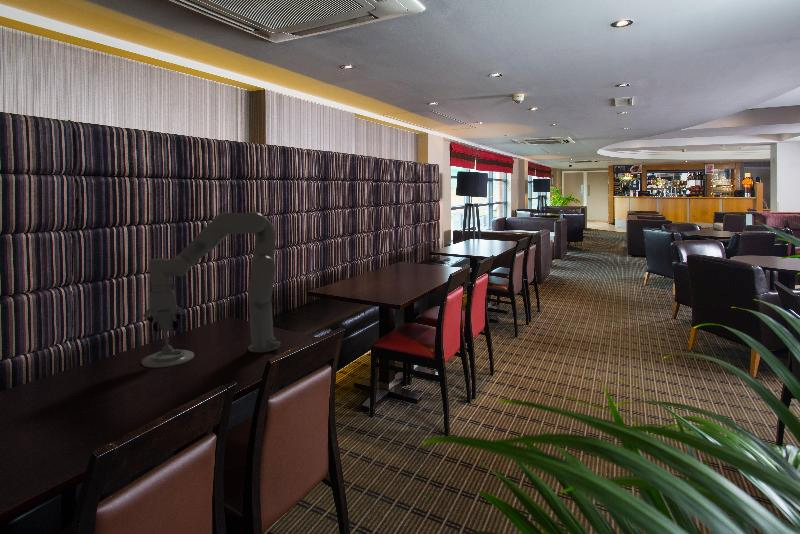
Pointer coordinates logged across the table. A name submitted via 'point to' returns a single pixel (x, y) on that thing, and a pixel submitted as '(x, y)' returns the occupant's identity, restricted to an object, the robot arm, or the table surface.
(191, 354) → the plate
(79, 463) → the table surface
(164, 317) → the chalice
